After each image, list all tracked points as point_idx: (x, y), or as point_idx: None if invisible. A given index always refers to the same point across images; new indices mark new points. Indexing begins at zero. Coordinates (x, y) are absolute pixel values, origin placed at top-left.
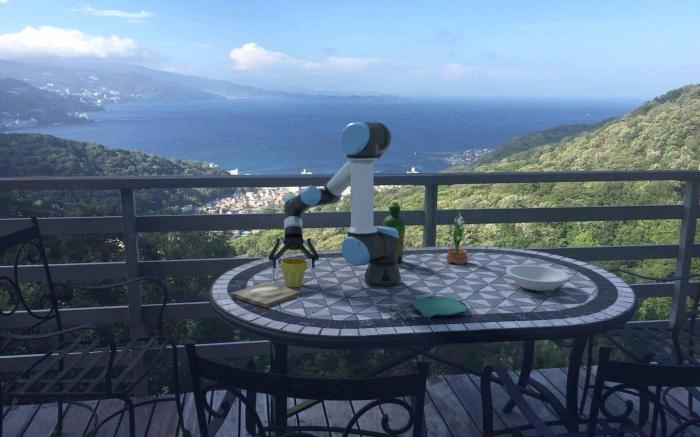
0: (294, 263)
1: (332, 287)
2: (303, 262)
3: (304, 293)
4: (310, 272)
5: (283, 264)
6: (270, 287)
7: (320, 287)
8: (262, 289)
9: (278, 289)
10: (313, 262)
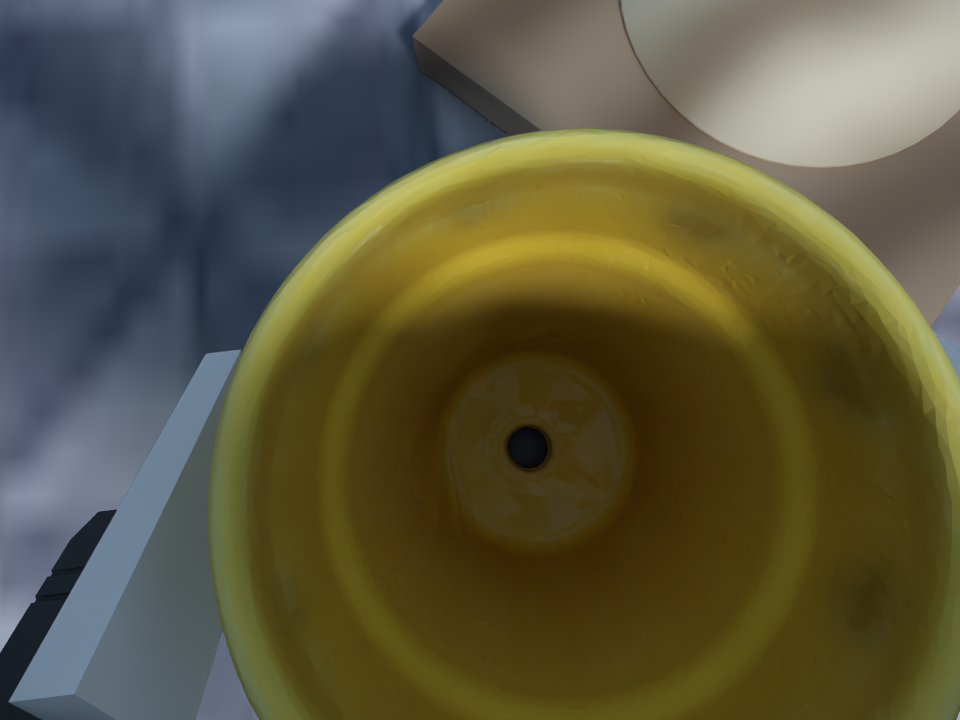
0: None
1: (56, 367)
2: (343, 687)
3: (379, 136)
4: (232, 356)
5: (847, 249)
6: (796, 145)
7: (200, 358)
8: (876, 65)
9: (683, 77)
10: (51, 620)
